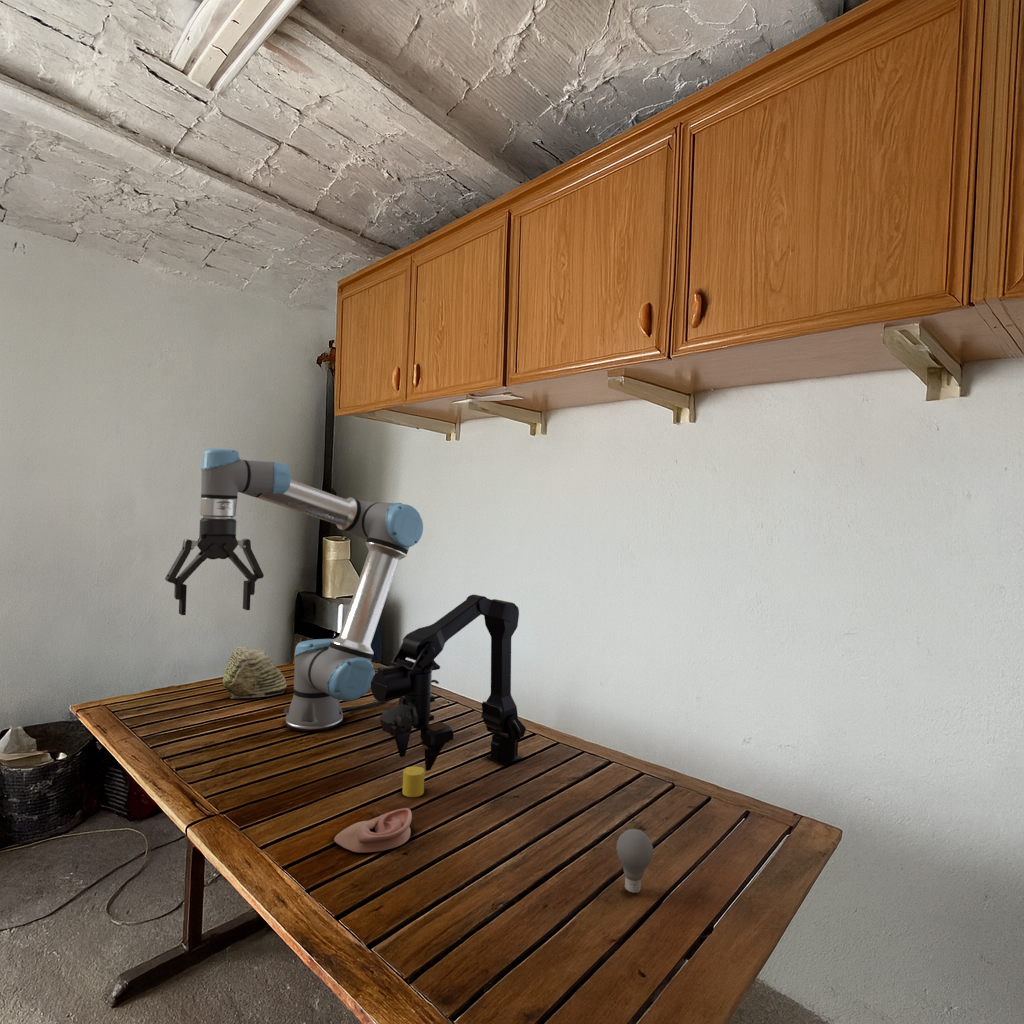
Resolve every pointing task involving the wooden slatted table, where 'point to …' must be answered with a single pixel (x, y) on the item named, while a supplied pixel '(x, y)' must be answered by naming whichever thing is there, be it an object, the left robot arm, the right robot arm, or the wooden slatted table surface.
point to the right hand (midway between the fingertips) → (414, 763)
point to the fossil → (252, 674)
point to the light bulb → (634, 857)
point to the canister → (413, 781)
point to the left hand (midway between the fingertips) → (215, 611)
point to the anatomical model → (377, 832)
